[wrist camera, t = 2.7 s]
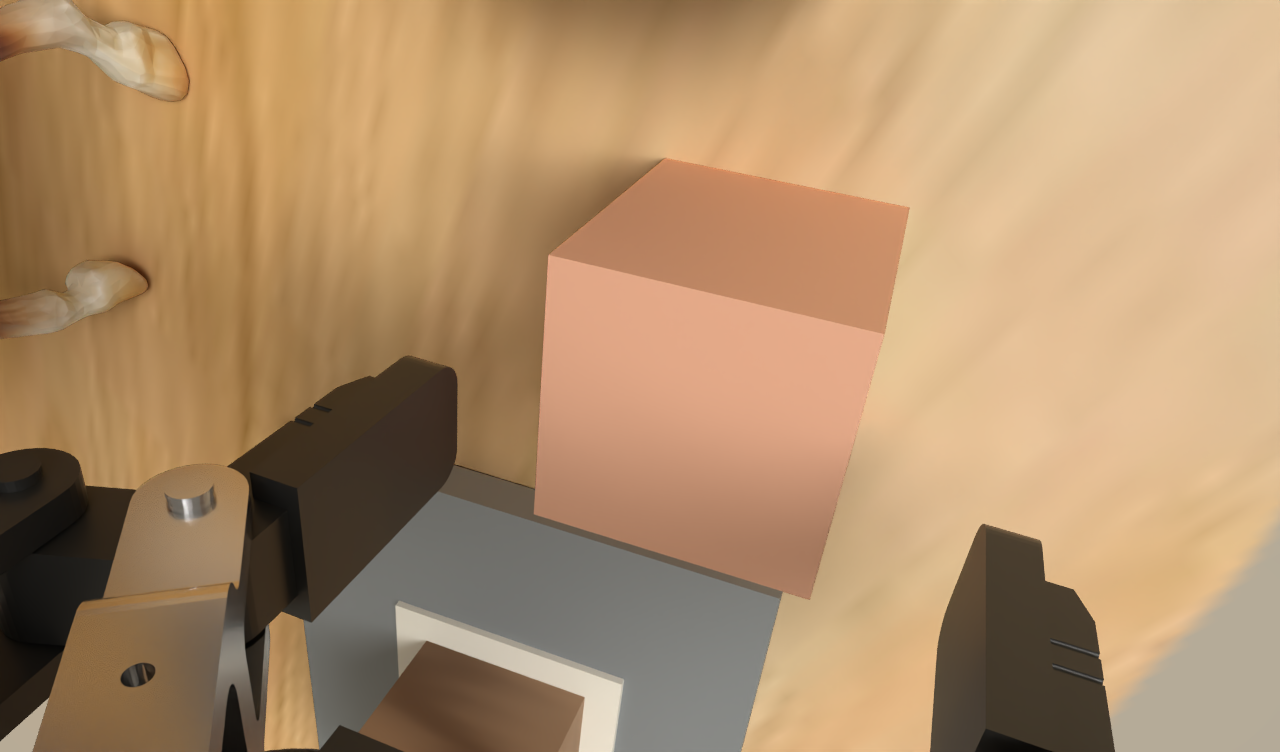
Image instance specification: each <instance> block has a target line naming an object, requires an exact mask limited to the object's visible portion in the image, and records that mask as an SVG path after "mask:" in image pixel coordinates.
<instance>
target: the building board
mask: <svg viewBox="0 0 1280 752" xmlns="http://www.w3.org/2000/svg"><path fill="white" fill-rule="evenodd" d="M534 500H535V489H531V488H528V487H525V486H521V485H518V484H515V483H512V482H508V481H505V480H502V479H499V478H495V477H492V476H489V475H485V474H482V473H479V472H476V471H472V470H469V469H466V468H462V467H459V466H456V465H454V466H453V469H452V471H451V473H450V476H449V477H448V479H447V481H446V482H445V484H444V485H443V487H442V488H441V489H440V490H439V491H438V492H437V493H436V494H435V495H434V496H433V497H432V498H431V499H430V500H429V501H428V502H427V503H426V504H425V505H424V506H423V508H422V509H421V510H420V511H419V512H418V513H417V514H416V515H415V516H414V517H413V518H412V519H411V520H410V521H409V522H408V523H407V524H406V525H405V526H404V527H403V528H402V529H401V530H400V531H399V532H398V534H397V535H396V536H395V537H394V538H393V539H392V540H391V541H390V542H389V543H388V544H387V545H386V546H385V547H384V548H383V549H382V550H381V551H380V552H379V553H378V554H377V555H376V556H375V557H374V558H373V560H372V561H371V562H370V563H369V564H368V565H367V566H366V567H365V568H364V569H363V570H362V571H361V572H360V573H359V574H358V575H357V576H356V577H355V578H354V579H353V580H352V581H351V582H350V583H349V585H348V586H347V587H346V588H345V589H344V590H343V591H342V592H341V593H340V594H339V595H338V596H337V597H336V598H335V599H334V600H333V601H332V602H331V603H330V604H329V605H328V606H327V607H326V608H325V609H324V611H323V612H322V613H321V614H320V615H319V616H318V617H317V618H316V619H315V620H314V621H313V622H312V623H311V622H308V621H305V620H304V628H305V636H306V644H307V652H308V660H309V668H310V676H311V684H312V692H313V700H314V709H315V717H316V725H317V733H318V741H319V749H321V747H322V746H323V745H324V744H325V742H326V741H327V740H328V739H329V737H330V736H331V735H332V734H333V733H334V731H335V730H336V729H337V728H338V726H339V725H341V726H344V727H346V728H348V729H351V730H353V731H356V732H359V731H360V729H361V728H362V727H363V725H364V724H365V723H366V721H367V720H368V719H369V717H370V716H371V715H372V713H373V712H374V711H375V709H376V708H377V707H378V705H379V704H380V703H381V701H382V700H383V698H384V697H385V696H386V694H387V693H388V692H389V690H390V689H391V688H392V686H393V685H394V684H395V682H396V681H397V680H398V678H399V677H400V676H401V674H402V673H403V672H404V670H405V669H406V667H407V666H408V665H409V663H410V662H411V661H412V659H413V658H414V657H415V655H416V654H417V653H418V651H419V650H420V649H421V647H422V646H423V645H424V643H425V642H426V640H427V641H429V642H432V643H435V644H438V645H441V646H443V647H446V648H449V649H452V650H454V651H457V652H460V653H463V654H466V655H468V656H471V657H474V658H477V659H480V660H482V661H485V662H488V663H491V664H494V665H496V666H499V667H502V668H505V669H508V670H510V671H513V672H516V673H519V674H521V675H524V676H527V677H530V678H533V679H535V680H538V681H541V682H544V683H547V684H549V685H552V686H555V687H558V688H561V689H563V690H566V691H569V692H572V693H574V694H577V695H580V696H583V697H585V700H584V709H583V718H582V727H581V736H580V745H579V752H741V750H742V746H743V742H744V739H745V735H746V731H747V727H748V723H749V719H750V715H751V712H752V708H753V704H754V700H755V696H756V692H757V689H758V685H759V681H760V677H761V673H762V669H763V665H764V662H765V658H766V654H767V650H768V646H769V642H770V639H771V635H772V631H773V627H774V623H775V619H776V615H777V612H778V608H779V604H780V600H781V596H782V592H783V591H779V590H776V589H773V588H770V587H766V586H763V585H760V584H757V583H754V582H750V581H747V580H744V579H741V578H737V577H734V576H731V575H728V574H725V573H721V572H718V571H715V570H712V569H708V568H705V567H702V566H699V565H696V564H692V563H689V562H686V561H683V560H679V559H676V558H673V557H670V556H667V555H663V554H660V553H657V552H654V551H650V550H647V549H644V548H641V547H638V546H634V545H631V544H628V543H625V542H621V541H618V540H615V539H612V538H609V537H605V536H602V535H599V534H596V533H592V532H589V531H586V530H583V529H580V528H576V527H573V526H570V525H567V524H563V523H560V522H557V521H554V520H551V519H547V518H544V517H541V516H538V515H534Z"/></svg>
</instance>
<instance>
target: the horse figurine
mask: <svg viewBox="0 0 1280 752" xmlns="http://www.w3.org/2000/svg"><path fill="white" fill-rule="evenodd" d="M53 48H63V49H67V50H70V51H74V52H78V53H80V54H83V55H85V56H87V57H89V58H90V59H91V60H92V61H93V62H94V63H95V64H96V65H97V66H98V67H99V68H100V69H101V70H102V71H103V72H105V73H106V74H107V75H108V76H109V77H110V78H111V79H112V80H114V81H116V82H118V83H120V84H123V85H125V86H128V87H131V88H133V89H136V90H138V91H140V92H142V93H144V94H146V95H148V96H151V97H154V98H157V99H159V100H165V101H179V100H181V99H182V98H183V97H184V96H185V95H186V94H187V92H188V86H189V80H188V76H187V73H186V70H185V67H184V65H183V63H182V61H181V59H180V57H179V55H178V53H177V51H176V49H175V48H174V46H173V45H172V43H171V42H170V41H169V39H168V38H167V37H166V36H164V35H163V34H161V33H160V32H158V31H157V30H154V29H150V28H147V27H143V26H140V25H136V24H133V23H130V22H127V21H117V22H111V23H109V24H106V25H102V24H100V23H98V22H96V21H94V20H92V19H90V18H88V17H87V16H86V15H84V14H83V13H82V12H81V11H80V10H79V9H78V7H77V6H76V5H75V4H74V3H73V2H72V0H19V1H18V2H16V3H12V4H8V5H5V6H4V7H2V8H0V61H3V60H5V59H8V58H11V57H13V56H16V55H18V54H21V53H27V52H34V51H40V50H47V49H53ZM65 284H66V286H67V288H68V290H67V291H66V292H64V293H60V292H55V291H51V290H48V289H43V290H40V291H37V292H34V293H30V294H27V295H23V296H19V297H14V298H10V299H5V300H0V339H4V338H14V337H22V336H29V335H39V334H47V333H53V332H57V331H59V330H62V329H64V328H66V327H68V326H70V325H71V324H73V323H75V322H77V321H79V320H80V319H82V318H85V317H87V316H89V315H94V314H99V313H104V312H107V311H108V310H110V309H111V308H113V307H114V306H116V305H117V304H119V303H120V302H123V301H125V300H128V299H130V298H132V297H135V296H137V295H140V294H142V293H143V292H144V291H146V290H147V289H148V284H147V281H146V279H145V278H144V277H143V276H142V275H140V274H139V273H138V272H137V271H135V270H134V269H133V268H131V267H128V266H126V265H124V264H121V263H119V262H114V261H106V260H102V261H95V260H87V261H84V262H82V263H80V264H78V265H76V266H75V267H73V268H72V269H71V270H70V272H69V273H68V275H67V277H66V282H65Z"/></svg>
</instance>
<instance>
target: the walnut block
mask: <svg viewBox="0 0 1280 752" xmlns="http://www.w3.org/2000/svg"><path fill="white" fill-rule="evenodd" d="M584 700H585V697H583V696H580V695H577V694H574V693H572V692H569V691H566V690H563V689H561V688H558V687H555V686H552V685H549V684H547V683H544V682H541V681H538V680H535V679H533V678H530V677H527V676H524V675H521V674H519V673H516V672H513V671H510V670H508V669H505V668H502V667H499V666H496V665H494V664H491V663H488V662H485V661H482V660H480V659H477V658H474V657H471V656H468V655H466V654H463V653H460V652H457V651H454V650H452V649H449V648H446V647H443V646H441V645H438V644H435V643H432V642H429V641H427V640H426V642H425V643H424V645H423V646H422V647H421V649H420V650H419V651H418V653H417V654H416V655H415V657H414V658H413V659H412V661H411V662H410V663H409V665H408V666H407V667H406V669H405V670H404V672H403V673H402V674H401V676H400V677H399V678H398V680H397V681H396V682H395V684H394V685H393V686H392V688H391V689H390V690H389V692H388V693H387V694H386V696H385V697H384V698H383V700H382V701H381V703H380V704H379V705H378V707H377V708H376V709H375V711H374V712H373V713H372V715H371V716H370V717H369V719H368V720H367V721H366V723H365V724H364V725H363V727H362V728H361V729H360V731H359V732H358V733H360V734H363V735H365V736H368V737H370V738H372V739H375V740H377V741H380V742H382V743H384V744H387V745H389V746H392V747H394V748H397V749H399V750H401V751H404V752H579V745H580V736H581V727H582V718H583V709H584Z"/></svg>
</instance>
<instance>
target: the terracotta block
mask: <svg viewBox="0 0 1280 752" xmlns="http://www.w3.org/2000/svg"><path fill="white" fill-rule="evenodd" d="M908 213H909V207H904V206H899V205H894V204H889V203H884V202H879V201H874V200H869V199H864V198H859V197H855V196H850V195H845V194H840V193H835V192H830V191H825V190H820V189H815V188H810V187H805V186H800V185H795V184H790V183H785V182H780V181H776V180H771V179H766V178H761V177H756V176H751V175H746V174H741V173H736V172H731V171H726V170H721V169H716V168H711V167H706V166H701V165H697V164H692V163H687V162H682V161H677V160H672V159H667V158H665V159H663V160H662V161H661V162H660V163H659V164H657V165H656V166H655V167H654V168H653V169H651V170H650V171H649V172H648V173H647V174H645V175H644V176H643V177H642V178H641V179H639V180H638V181H637V182H636V183H634V184H633V185H632V186H631V187H630V188H628V189H627V190H626V191H625V192H624V193H622V194H621V195H620V196H619V197H618V198H616V199H615V200H614V201H613V202H612V203H610V204H609V205H608V206H607V207H606V208H604V209H603V210H602V211H601V212H599V213H598V214H597V215H596V216H595V217H593V218H592V219H591V220H590V221H589V222H587V223H586V224H585V225H584V226H583V227H581V228H580V229H579V230H578V231H577V232H575V233H574V234H573V235H572V236H570V237H569V238H568V239H567V240H566V241H564V242H563V243H562V244H561V245H560V246H558V247H557V248H556V249H555V250H554V251H552V252H551V253H550V254H549V255H548V270H547V287H546V305H545V323H544V341H543V358H542V376H541V394H540V412H539V429H538V447H537V465H536V483H535V500H534V515H538V516H541V517H544V518H547V519H551V520H554V521H557V522H560V523H563V524H567V525H570V526H573V527H576V528H580V529H583V530H586V531H589V532H592V533H596V534H599V535H602V536H605V537H609V538H612V539H615V540H618V541H621V542H625V543H628V544H631V545H634V546H638V547H641V548H644V549H647V550H650V551H654V552H657V553H660V554H663V555H667V556H670V557H673V558H676V559H679V560H683V561H686V562H689V563H692V564H696V565H699V566H702V567H705V568H708V569H712V570H715V571H718V572H721V573H725V574H728V575H731V576H734V577H737V578H741V579H744V580H747V581H750V582H754V583H757V584H760V585H763V586H766V587H770V588H773V589H776V590H779V591H783V592H786V593H789V594H792V595H795V596H799V597H802V598H805V599H808V600H810V597H811V593H812V590H813V586H814V583H815V579H816V576H817V572H818V568H819V565H820V561H821V558H822V554H823V551H824V547H825V544H826V540H827V536H828V533H829V529H830V526H831V522H832V519H833V515H834V512H835V508H836V504H837V501H838V497H839V494H840V490H841V487H842V483H843V480H844V476H845V473H846V469H847V465H848V462H849V458H850V455H851V451H852V448H853V444H854V441H855V437H856V433H857V430H858V426H859V423H860V419H861V416H862V412H863V409H864V405H865V401H866V398H867V394H868V391H869V387H870V384H871V380H872V377H873V373H874V370H875V366H876V362H877V359H878V355H879V352H880V348H881V345H882V341H883V338H884V334H885V329H886V324H887V319H888V314H889V309H890V304H891V299H892V294H893V289H894V284H895V279H896V274H897V269H898V264H899V259H900V254H901V249H902V244H903V239H904V234H905V229H906V224H907V218H908Z"/></svg>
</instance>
